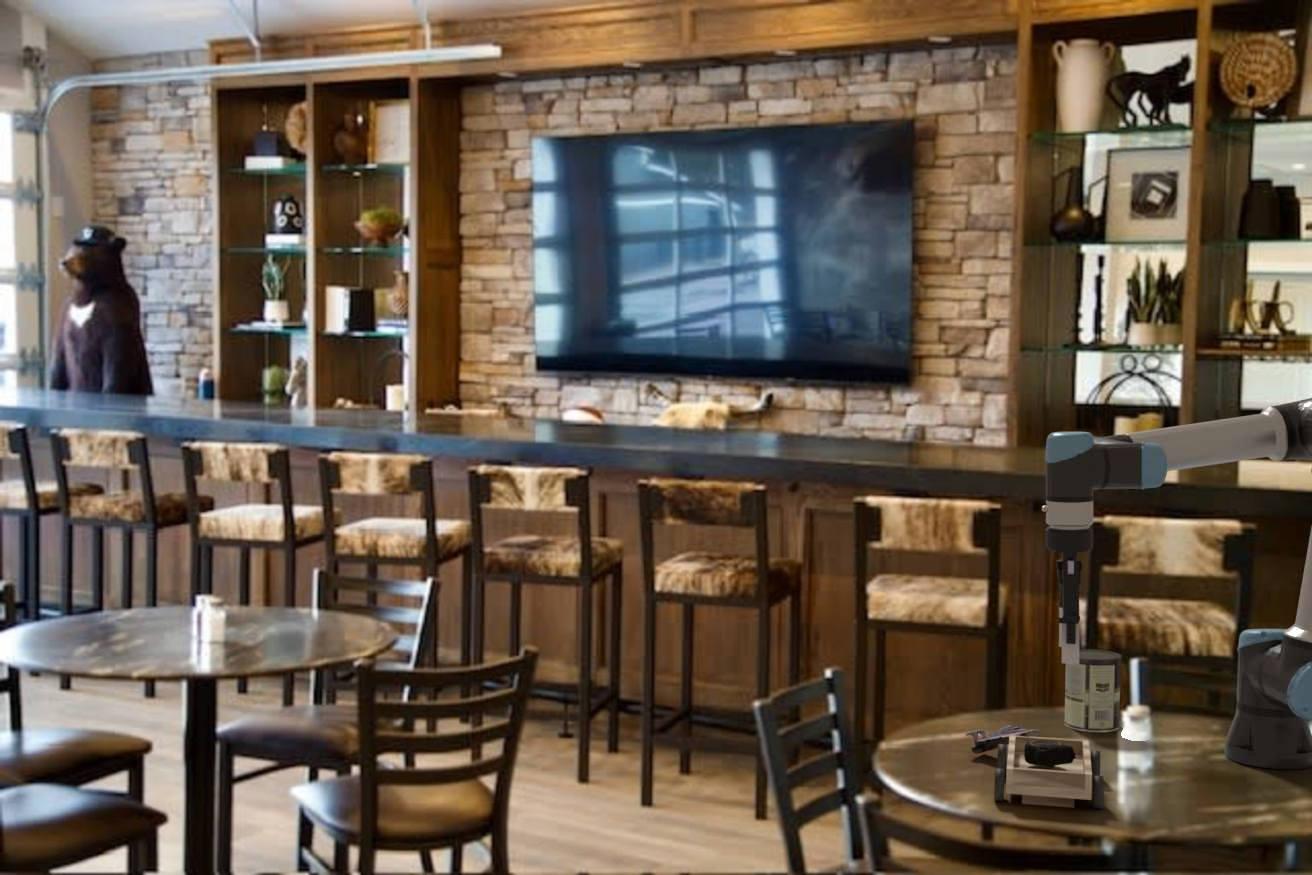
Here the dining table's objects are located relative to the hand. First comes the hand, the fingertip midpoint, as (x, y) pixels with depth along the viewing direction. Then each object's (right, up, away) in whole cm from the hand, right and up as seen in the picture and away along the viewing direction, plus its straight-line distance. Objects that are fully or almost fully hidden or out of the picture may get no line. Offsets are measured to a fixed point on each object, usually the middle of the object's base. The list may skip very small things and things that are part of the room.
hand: (1068, 654), depth 267 cm
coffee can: (+15, -19, +41) cm, 47 cm away
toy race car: (-9, -21, +18) cm, 29 cm away
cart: (-4, -22, -2) cm, 22 cm away
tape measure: (-4, -18, -5) cm, 20 cm away
